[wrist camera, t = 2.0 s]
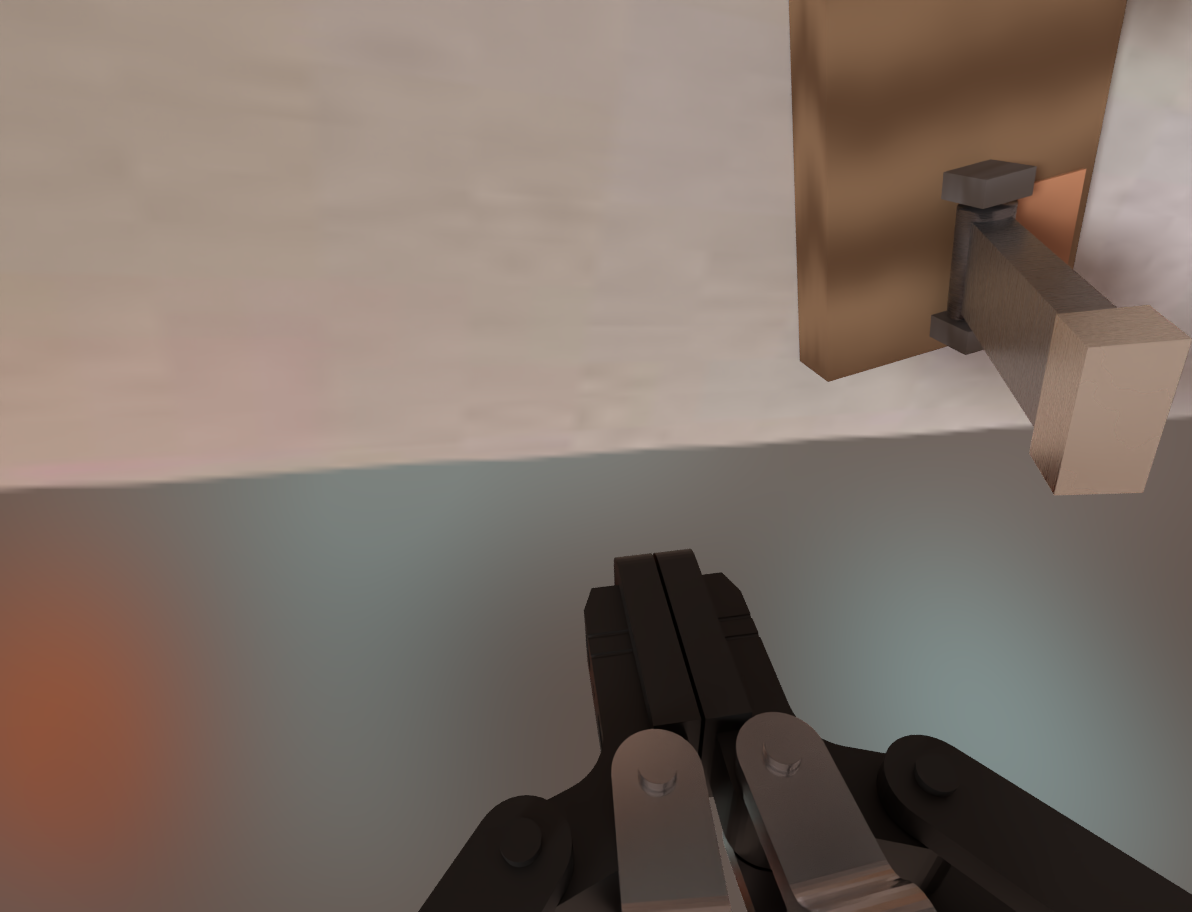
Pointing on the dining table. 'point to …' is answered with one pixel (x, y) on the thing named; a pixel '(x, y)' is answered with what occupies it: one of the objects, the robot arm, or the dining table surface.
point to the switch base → (932, 154)
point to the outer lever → (1066, 354)
